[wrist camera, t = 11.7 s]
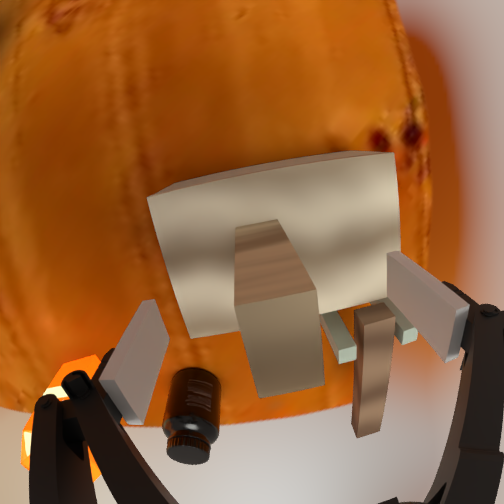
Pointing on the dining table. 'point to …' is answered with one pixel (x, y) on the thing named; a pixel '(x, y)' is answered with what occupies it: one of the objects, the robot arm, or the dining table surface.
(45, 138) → the dining table surface
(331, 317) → the set of sage-green parts
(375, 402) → the brown wooden bar
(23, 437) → the orange juice
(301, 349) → the lid
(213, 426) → the supplement bottle
